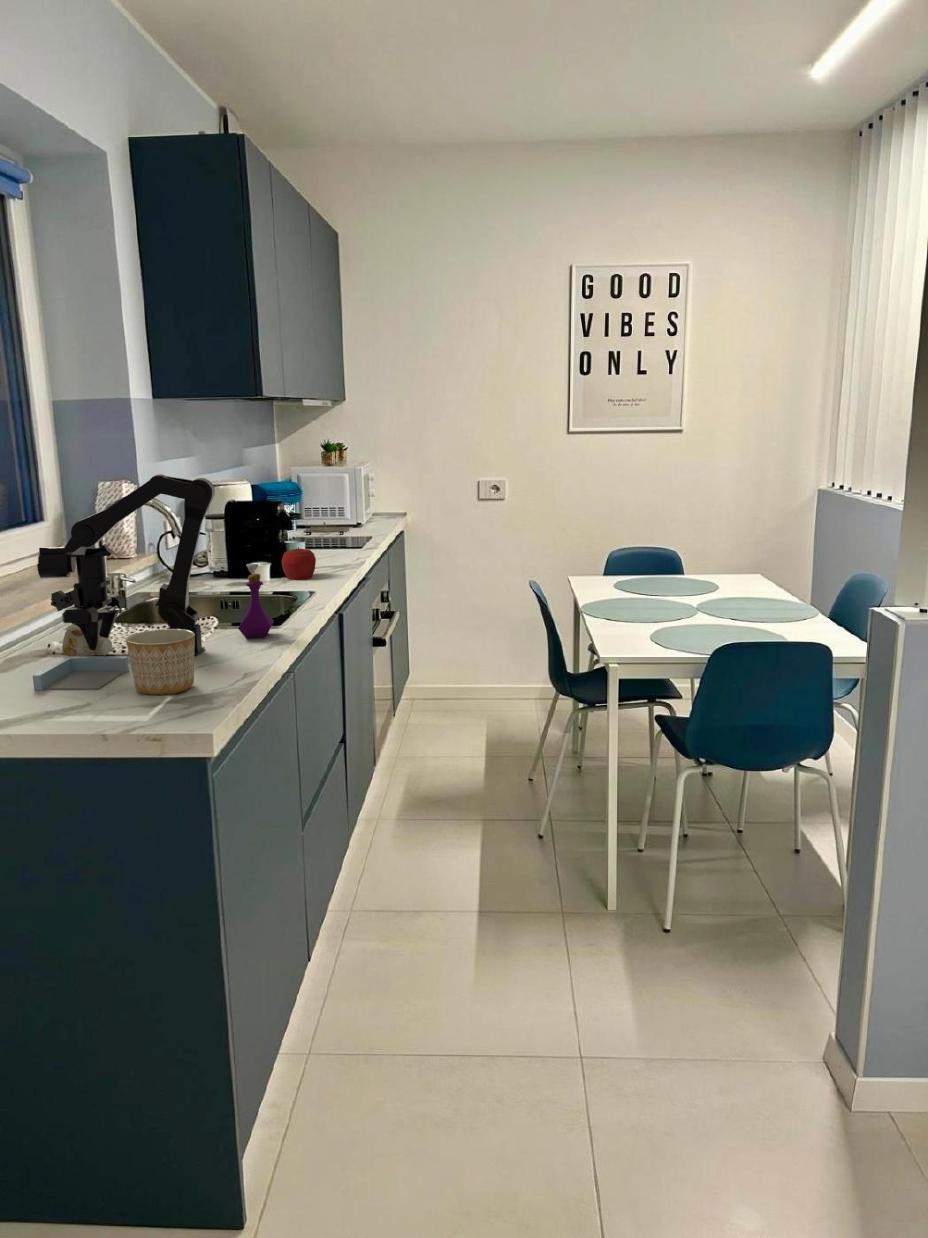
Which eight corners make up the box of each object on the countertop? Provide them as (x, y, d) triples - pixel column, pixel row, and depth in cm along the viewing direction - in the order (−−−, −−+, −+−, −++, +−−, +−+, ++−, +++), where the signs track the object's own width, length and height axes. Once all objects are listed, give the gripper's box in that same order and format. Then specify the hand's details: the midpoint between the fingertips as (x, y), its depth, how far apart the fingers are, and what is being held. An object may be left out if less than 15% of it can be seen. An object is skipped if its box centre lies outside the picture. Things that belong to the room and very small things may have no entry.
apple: (284, 580, 301) (282, 544, 298) (317, 579, 302) (316, 543, 299) (281, 586, 290) (279, 549, 287) (316, 585, 291) (314, 548, 289)
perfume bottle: (243, 634, 227) (238, 561, 223) (274, 633, 227) (270, 560, 223) (238, 641, 219) (233, 566, 216) (271, 640, 220) (266, 565, 216)
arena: (129, 670, 196) (127, 656, 195) (99, 690, 182) (98, 675, 181) (68, 670, 196) (66, 656, 196) (34, 690, 182) (32, 675, 182)
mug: (109, 658, 202) (78, 623, 199) (78, 678, 205) (46, 644, 202) (124, 642, 209) (94, 608, 205) (93, 662, 212) (63, 628, 209)
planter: (125, 685, 185) (120, 633, 183) (190, 675, 191) (186, 626, 189) (137, 701, 174) (132, 647, 172) (205, 691, 180) (201, 638, 178)
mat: (123, 672, 194) (123, 671, 194) (98, 689, 182) (98, 688, 182) (74, 672, 195) (73, 671, 194) (45, 689, 183) (45, 688, 183)
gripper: (75, 570, 212) (81, 637, 215) (34, 584, 194) (42, 657, 197) (123, 569, 211) (129, 637, 215) (87, 583, 193) (93, 657, 196)
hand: (98, 646), depth 206 cm, fingers closed on mug, 5 cm apart
